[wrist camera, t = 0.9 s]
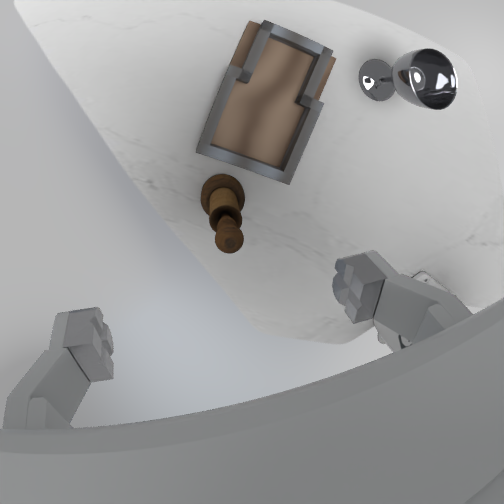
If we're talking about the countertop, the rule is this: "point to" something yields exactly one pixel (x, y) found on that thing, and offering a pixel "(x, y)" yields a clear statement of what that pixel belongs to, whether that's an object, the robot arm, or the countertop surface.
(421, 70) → the wine glass
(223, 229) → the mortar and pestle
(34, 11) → the countertop surface
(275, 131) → the tray
